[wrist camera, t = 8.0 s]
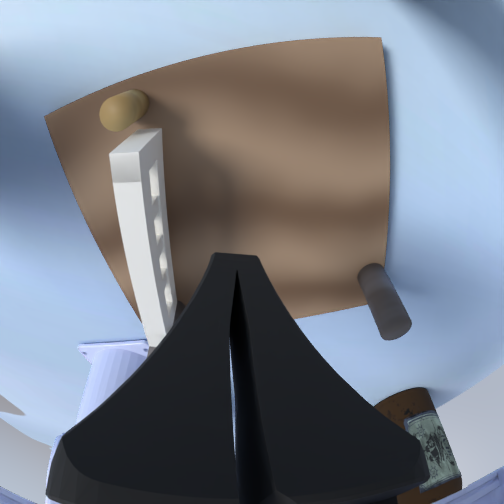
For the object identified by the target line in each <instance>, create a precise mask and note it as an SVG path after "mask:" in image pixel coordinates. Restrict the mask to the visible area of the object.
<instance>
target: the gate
mask: <svg viewBox="0 0 504 504" xmlns="http://www.w3.org/2000/svg"><path fill="white" fill-rule="evenodd" d="M109 157H110V166H111V174H112V181H113V188H114V195H115V201H116V207H117V213H118V219H119V225H120V230H121V235H122V240H123V245H124V250H125V255H126V260H127V264H128V269H129V273H130V277H131V282H132V286H133V290H134V294H135V298H136V302H137V305H138V309H139V313H140V316H141V320H142V324H143V327H144V331H145V334H146V337H147V341H148V344H149V346H151V347H157V346H158V344H159V343H160V342H161V341H162V339H163V338H164V337H165V336H166V334H167V333H168V332H169V330H170V329H171V328H172V326H173V322H174V316H175V311H176V306H177V297H176V290H175V282H174V274H173V266H172V258H171V249H170V240H169V230H168V219H167V208H166V195H165V181H164V165H163V145H162V128H155V129H138V130H137V131H135V132H134V133H133V134H132V135H131V136H129V137H128V138H127V139H126V140H124V141H123V142H122V143H121V144H120V145H119V146H117V147H116V148H115V149H114V150H113V151H112V152H110V153H109Z"/></svg>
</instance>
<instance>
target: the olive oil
mask: <svg viewBox="0 0 504 504" xmlns="http://www.w3.org/2000/svg"><path fill="white" fill-rule="evenodd" d="M374 408H376V409H377V410H378V411H379V412H380V413H382V414H383V415H384V416H386V417H387V418H388V419H390V420H391V421H392V422H394V423H395V424H397V425H398V426H400V427H401V428H403V429H404V430H405V431H407V432H408V433H410V434H411V435H413V436H414V437H416V438H417V439H419V440H420V442H421V445H422V447H423V450H424V453H425V456H426V460H427V464H428V468H429V472H430V478H429V480H428V481H427V482H425V483H424V484H422V485H420V486H418V487H415V488H413V489H411V490H409V491H407V492H404V493H402V494H400V495H397V501H398V504H432V503H434V502H436V501H439V500H441V499H443V498H445V497H447V496H450V495H452V494H454V493H456V492H458V491H460V490H462V478H461V472H460V471H459V469H458V466H457V463H456V461H455V458H454V455H453V453H452V450H451V447H450V445H449V442H448V440H447V437H446V434H445V432H444V429H443V427H442V424H441V422H440V420H439V417H438V415H437V412H436V410H435V407H434V405H433V402H432V400H431V397H430V395H429V393H428V391H427V389H425V388H413V389H409V390H405V391H402V392H400V393H397V394H395V395H392V396H390V397H388V398H386V399H385V400H383V401H381V402H380V403H378V404H377V405H375V406H374Z"/></svg>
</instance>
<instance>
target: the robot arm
mask: <svg viewBox="0 0 504 504" xmlns="http://www.w3.org/2000/svg"><path fill="white" fill-rule="evenodd" d="M229 337H230V340H229ZM230 349H231V361H232V371H233V382H234V392H235V450H234V436H233V421H232V402H231V379H230ZM78 350H79V351H80V352H81V353H82V355H83V356H84V357H85V358H86V359H87V360H88V361H89V363H90V364H91V365H92V366H91V369H90V373H89V376H88V379H87V383H86V386H85V390H84V393H83V397H82V400H81V404H80V408H79V412H78V416H77V420H76V424H75V426H74V427H72V428H71V429H70V430H69V431H67V432H66V433H63V434H62V435H60V436H57V437H56V439H55V442H54V445H53V448H52V452H51V456H50V461H49V466H48V472H47V480H46V502H45V504H398V501H397V495H400V494H402V493H404V492H407V491H409V490H411V489H413V488H415V487H418V486H420V485H422V484H424V483H425V482H427V481H428V480H429V478H430V472H429V468H428V464H427V460H426V456H425V453H424V450H423V447H422V445H421V442H420V440H419V439H417V438H416V437H414V436H413V435H411V434H410V433H408V432H407V431H405V430H404V429H403V428H401V427H400V426H398V425H397V424H395V423H394V422H392V421H391V420H390V419H388V418H387V417H386V416H384V415H383V414H382V413H380V412H379V411H378V410H377V409H376V408H374V407H373V406H372V405H371V404H369V403H368V402H367V401H366V400H365V399H364V398H363V397H362V396H360V395H359V394H358V393H357V392H356V391H355V390H354V389H353V388H352V387H351V386H350V385H349V384H348V383H347V382H346V381H345V380H344V379H343V378H342V377H340V376H339V375H338V374H337V372H336V371H335V370H334V369H333V368H332V367H331V366H330V365H329V364H328V363H327V362H326V360H325V359H324V358H323V357H322V356H321V355H320V353H319V352H318V351H317V350H316V349H315V348H314V346H313V345H312V344H311V343H310V341H309V340H308V339H307V337H306V336H305V335H304V333H303V332H302V331H301V329H300V328H299V326H298V325H297V324H296V322H295V321H294V319H293V318H292V316H291V315H290V313H289V312H288V310H287V309H286V307H285V305H284V304H283V302H282V301H281V299H280V297H279V296H278V294H277V292H276V291H275V289H274V287H273V285H272V283H271V281H270V280H269V278H268V276H267V274H266V272H265V270H264V268H263V266H262V263H261V261H260V259H259V258H258V256H257V255H245V254H232V253H219V252H215V253H213V254H212V255H211V258H210V261H209V264H208V266H207V269H206V271H205V273H204V275H203V277H202V279H201V281H200V283H199V285H198V287H197V289H196V290H195V292H194V294H193V296H192V297H191V299H190V301H189V302H188V304H187V305H186V307H185V308H184V310H183V311H182V313H181V314H180V316H179V318H178V319H177V321H176V322H175V323H174V325H173V326H172V328H171V329H170V330H169V332H168V333H167V334H166V336H165V337H164V338H163V339H162V341H161V342H160V343H159V344H158V346H157V347H156V348H155V349H154V351H153V352H152V353H151V354H150V355H149V356H148V357H147V354H148V350H149V344H148V341H146V340H137V341H125V342H110V343H94V344H79V346H78ZM0 504H36V503H34V502H32V501H30V500H27V499H25V498H23V497H20V496H19V495H17V494H15V493H12V492H10V491H9V490H7V489H5V488H3V487H1V486H0ZM432 504H504V466H503V467H501V468H500V469H497V470H495V471H493V472H492V473H490V474H488V475H486V476H485V477H483V478H481V479H479V480H477V481H475V482H474V483H472V484H470V485H469V486H468V487H466V488H464V489H462V490H460V491H458V492H456V493H454V494H452V495H450V496H447V497H445V498H443V499H441V500H439V501H436V502H434V503H432Z"/></svg>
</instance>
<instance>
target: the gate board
mask: <svg viewBox="0 0 504 504" xmlns="http://www.w3.org/2000/svg"><path fill="white" fill-rule="evenodd" d="M44 118H45V121H46V124H47V127H48V130H49V133H50V135H51V138H52V141H53V144H54V147H55V149H56V152H57V155H58V157H59V160H60V162H61V165H62V167H63V170H64V172H65V175H66V177H67V180H68V182H69V185H70V187H71V189H72V192H73V194H74V196H75V199H76V201H77V203H78V205H79V207H80V210H81V212H82V214H83V216H84V218H85V220H86V222H87V225H88V227H89V229H90V231H91V233H92V235H93V237H94V239H95V241H96V243H97V245H98V247H99V249H100V251H101V253H102V255H103V257H104V258H105V260H106V262H107V264H108V266H109V268H110V270H111V271H112V273H113V275H114V277H115V279H116V280H117V282H118V284H119V286H120V288H121V289H122V291H123V293H124V295H125V296H126V298H127V300H128V301H129V303H130V305H131V306H132V308H133V310H134V311H135V313H136V315H137V316H138V318H139V319H140V321H141V323H142V320H141V316H140V313H139V309H138V305H137V302H136V298H135V294H134V290H133V286H132V282H131V277H130V273H129V269H128V264H127V260H126V255H125V250H124V245H123V240H122V235H121V230H120V225H119V219H118V213H117V207H116V201H115V195H114V188H113V181H112V174H111V166H110V157H109V153H110V152H112V151H113V150H114V149H115V148H116V147H117V146H119V145H120V144H121V143H122V142H123V141H124V140H126V139H127V138H128V137H129V136H131V135H132V134H133V133H134V132H135V131H137V130H138V129H155V128H162V145H163V165H164V181H165V195H166V208H167V219H168V230H169V240H170V249H171V258H172V266H173V274H174V282H175V290H176V297H177V306H176V311H175V316H174V322H173V325H174V323H175V322H176V321H177V319H178V318H179V316H180V314H181V313H182V311H183V310H184V308H185V307H186V305H187V304H188V302H189V301H190V299H191V297H192V296H193V294H194V292H195V290H196V289H197V287H198V285H199V283H200V281H201V279H202V277H203V275H204V273H205V271H206V269H207V266H208V264H209V261H210V258H211V255H212V254H213V253H215V252H219V253H232V254H245V255H257V256H258V258H259V259H260V261H261V263H262V266H263V268H264V270H265V272H266V274H267V276H268V278H269V280H270V281H271V283H272V285H273V287H274V289H275V291H276V292H277V294H278V296H279V297H280V299H281V301H282V302H283V304H284V305H285V307H286V309H287V310H288V312H289V313H290V315H291V316H292V318H293V319H297V318H303V317H308V316H314V315H319V314H324V313H329V312H334V311H339V310H344V309H349V308H354V307H358V306H363V305H367V304H368V305H369V308H370V310H371V312H372V315H373V317H374V320H375V322H376V325H377V327H378V330H379V332H380V335H381V337H382V338H383V339H384V340H394V339H397V338H399V337H401V336H403V335H404V334H406V333H407V332H408V331H409V329H410V328H411V325H412V322H411V319H410V317H409V315H408V313H407V311H406V309H405V307H404V306H403V304H402V302H401V300H400V298H399V296H398V294H397V292H396V290H395V288H394V286H393V285H392V283H391V281H390V279H389V277H388V275H387V274H386V272H385V270H384V266H385V256H386V245H387V232H388V216H389V193H390V132H389V110H388V95H387V83H386V72H385V63H384V55H383V47H382V40H381V38H380V37H340V38H319V39H305V40H295V41H285V42H277V43H270V44H263V45H256V46H250V47H244V48H239V49H234V50H229V51H224V52H219V53H214V54H210V55H206V56H202V57H198V58H194V59H190V60H186V61H182V62H179V63H175V64H172V65H168V66H165V67H162V68H158V69H155V70H152V71H149V72H146V73H143V74H140V75H137V76H135V77H132V78H129V79H126V80H124V81H121V82H118V83H116V84H113V85H111V86H108V87H106V88H103V89H101V90H99V91H96V92H94V93H92V94H89V95H87V96H85V97H83V98H80V99H78V100H76V101H74V102H72V103H70V104H68V105H66V106H64V107H62V108H60V109H58V110H56V111H54V112H52V113H50V114H48V115H46V116H44ZM155 348H156V347H151V346H149V350H148V354H147V357H148V356H149V355H150V354H151V353H152V352H153V351H154V349H155Z"/></svg>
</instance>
